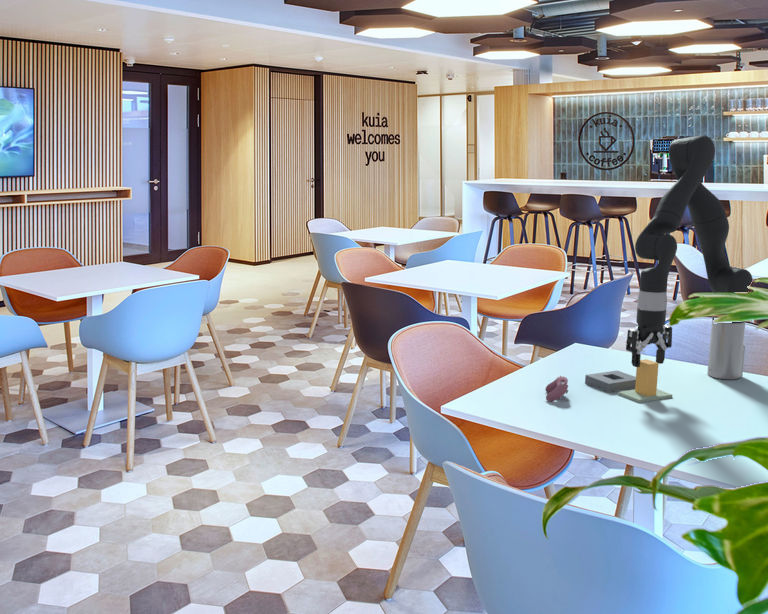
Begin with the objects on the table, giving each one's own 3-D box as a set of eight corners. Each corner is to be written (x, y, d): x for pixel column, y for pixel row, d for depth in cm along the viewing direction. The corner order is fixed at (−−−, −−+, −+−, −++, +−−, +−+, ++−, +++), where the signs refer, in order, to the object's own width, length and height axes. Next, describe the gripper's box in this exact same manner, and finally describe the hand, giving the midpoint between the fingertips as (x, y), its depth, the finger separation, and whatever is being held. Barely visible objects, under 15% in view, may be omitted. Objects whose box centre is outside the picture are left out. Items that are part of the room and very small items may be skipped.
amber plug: (644, 390, 221) (646, 359, 219) (656, 394, 216) (658, 363, 215) (634, 391, 219) (637, 360, 217) (646, 396, 215) (649, 364, 213)
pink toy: (559, 408, 212) (572, 386, 210) (544, 400, 212) (557, 378, 210) (558, 397, 221) (570, 376, 220) (543, 389, 222) (556, 368, 220)
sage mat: (651, 389, 224) (651, 386, 224) (672, 397, 217) (672, 394, 217) (618, 394, 219) (618, 391, 219) (638, 402, 212) (639, 399, 212)
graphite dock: (616, 378, 235) (617, 370, 235) (640, 387, 226) (641, 378, 226) (585, 383, 230) (585, 374, 230) (608, 392, 221) (608, 383, 221)
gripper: (661, 302, 220) (657, 359, 223) (621, 306, 214) (618, 364, 217) (681, 307, 213) (677, 365, 216) (641, 311, 207) (637, 371, 210)
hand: (647, 364), depth 216 cm, fingers open, 8 cm apart
